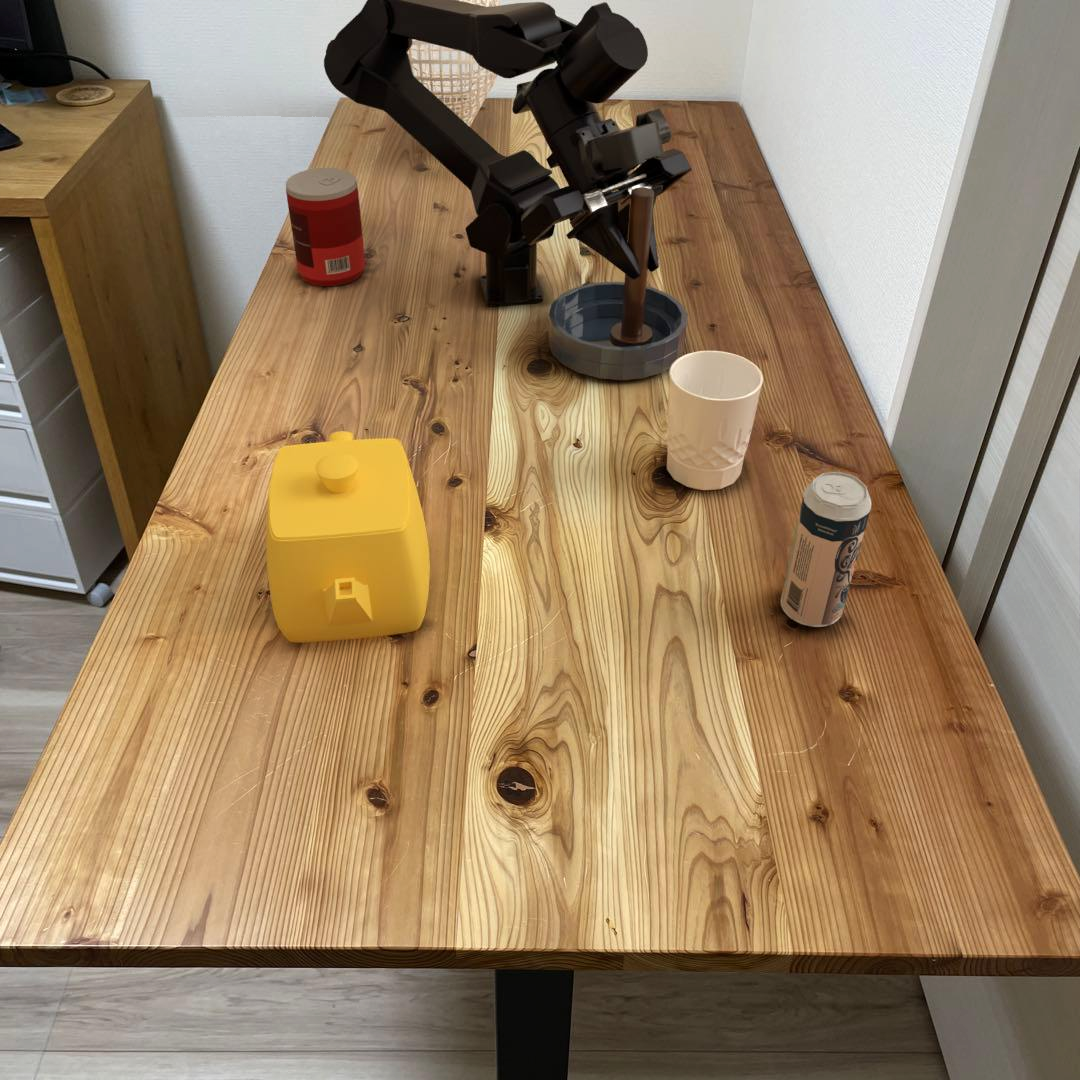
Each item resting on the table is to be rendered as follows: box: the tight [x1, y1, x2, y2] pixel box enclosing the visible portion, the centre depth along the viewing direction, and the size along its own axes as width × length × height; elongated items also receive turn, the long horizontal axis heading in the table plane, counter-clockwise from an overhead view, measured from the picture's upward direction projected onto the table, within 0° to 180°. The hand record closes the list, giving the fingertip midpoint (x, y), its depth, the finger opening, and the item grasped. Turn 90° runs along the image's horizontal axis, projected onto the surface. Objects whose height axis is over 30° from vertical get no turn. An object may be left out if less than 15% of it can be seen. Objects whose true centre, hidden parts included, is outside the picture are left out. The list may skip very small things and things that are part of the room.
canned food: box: [285, 167, 366, 287], centre depth 122 cm, size 8×8×11 cm
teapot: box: [265, 430, 431, 644], centre depth 81 cm, size 20×12×12 cm, turn 8°
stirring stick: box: [610, 187, 654, 347], centre depth 106 cm, size 4×4×16 cm
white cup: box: [665, 350, 764, 491], centre depth 94 cm, size 8×8×10 cm
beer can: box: [780, 471, 873, 628], centre depth 79 cm, size 5×5×12 cm
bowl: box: [547, 281, 688, 381], centre depth 112 cm, size 14×14×4 cm
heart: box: [407, 0, 501, 128], centre depth 148 cm, size 28×16×22 cm, turn 2°
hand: (646, 273), depth 105 cm, fingers closed on stirring stick, 2 cm apart
